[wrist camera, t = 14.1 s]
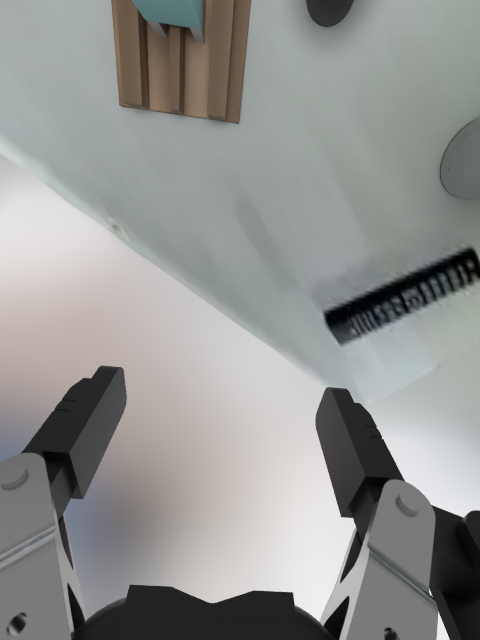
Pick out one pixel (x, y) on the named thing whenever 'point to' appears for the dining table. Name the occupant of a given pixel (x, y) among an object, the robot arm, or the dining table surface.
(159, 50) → the rail
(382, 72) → the dining table surface
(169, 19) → the aqua box with feet
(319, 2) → the sundae
